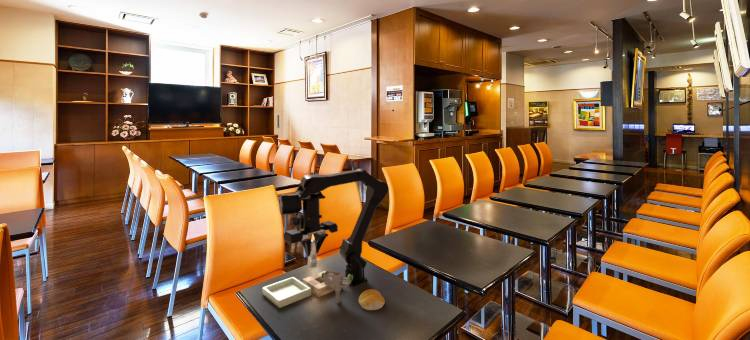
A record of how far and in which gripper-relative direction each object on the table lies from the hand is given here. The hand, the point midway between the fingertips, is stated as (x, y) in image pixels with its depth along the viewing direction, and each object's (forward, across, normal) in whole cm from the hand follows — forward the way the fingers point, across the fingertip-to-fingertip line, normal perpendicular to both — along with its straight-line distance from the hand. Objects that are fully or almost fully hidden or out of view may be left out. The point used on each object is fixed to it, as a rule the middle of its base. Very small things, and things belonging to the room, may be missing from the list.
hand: (312, 254), depth 125 cm
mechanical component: (+13, -1, +13) cm, 18 cm away
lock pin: (+4, 0, 0) cm, 4 cm away
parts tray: (+13, +9, -3) cm, 16 cm away
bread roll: (+13, -9, +21) cm, 26 cm away
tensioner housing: (+13, -3, +1) cm, 13 cm away
